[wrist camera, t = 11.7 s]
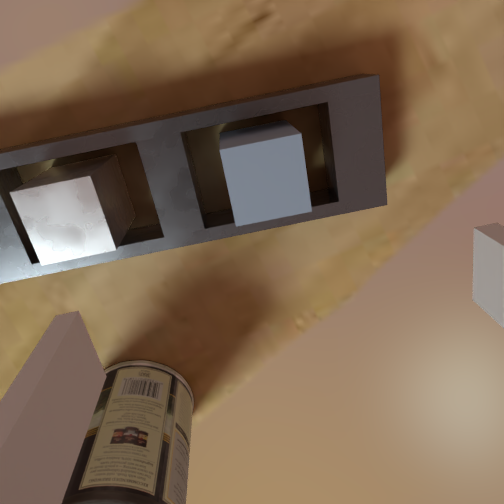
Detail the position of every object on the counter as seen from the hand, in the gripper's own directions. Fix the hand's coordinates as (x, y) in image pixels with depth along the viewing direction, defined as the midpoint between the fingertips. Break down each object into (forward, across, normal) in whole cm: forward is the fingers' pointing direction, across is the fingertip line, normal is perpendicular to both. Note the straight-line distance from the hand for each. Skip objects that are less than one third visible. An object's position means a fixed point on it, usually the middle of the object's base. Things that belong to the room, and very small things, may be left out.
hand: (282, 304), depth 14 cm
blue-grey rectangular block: (+21, +1, 0) cm, 21 cm away
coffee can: (+21, -14, -20) cm, 33 cm away
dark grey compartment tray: (+21, -5, 0) cm, 21 cm away
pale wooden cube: (+21, -12, +1) cm, 24 cm away
